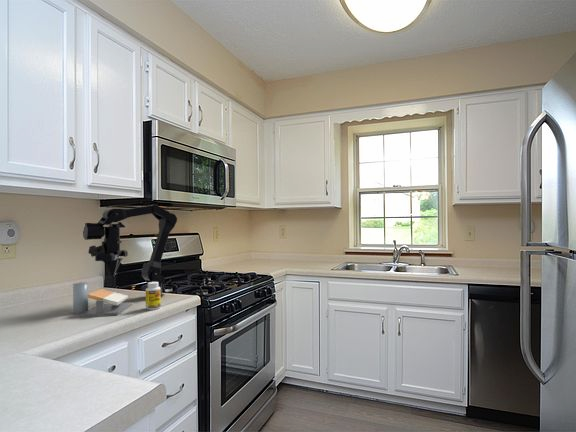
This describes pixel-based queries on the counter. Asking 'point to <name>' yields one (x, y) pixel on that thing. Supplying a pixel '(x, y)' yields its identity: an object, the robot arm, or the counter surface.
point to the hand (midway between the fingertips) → (112, 275)
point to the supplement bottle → (153, 296)
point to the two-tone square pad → (108, 296)
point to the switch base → (106, 309)
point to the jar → (80, 297)
